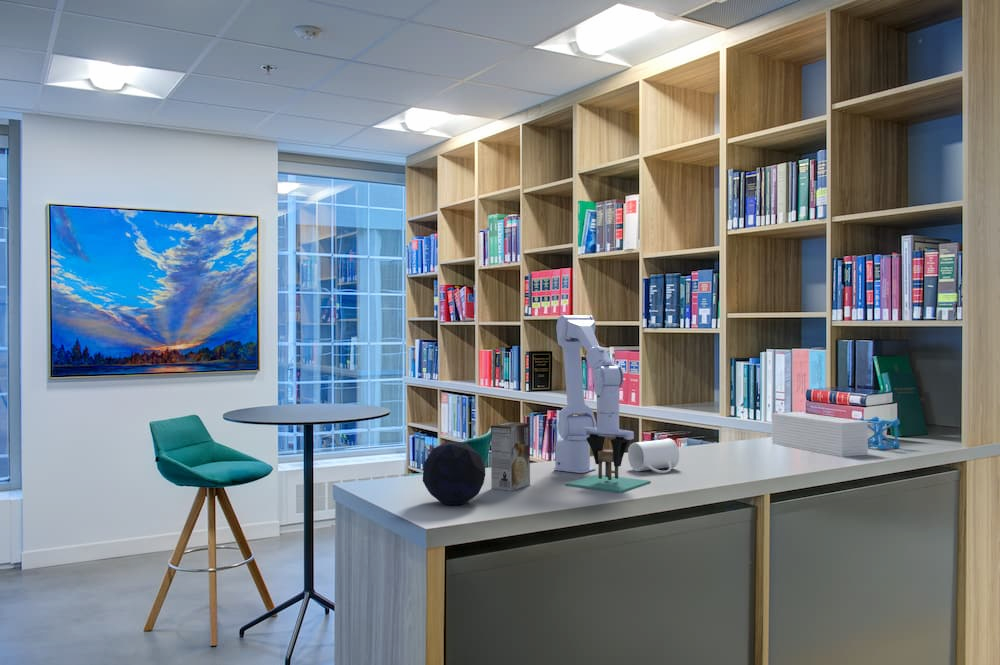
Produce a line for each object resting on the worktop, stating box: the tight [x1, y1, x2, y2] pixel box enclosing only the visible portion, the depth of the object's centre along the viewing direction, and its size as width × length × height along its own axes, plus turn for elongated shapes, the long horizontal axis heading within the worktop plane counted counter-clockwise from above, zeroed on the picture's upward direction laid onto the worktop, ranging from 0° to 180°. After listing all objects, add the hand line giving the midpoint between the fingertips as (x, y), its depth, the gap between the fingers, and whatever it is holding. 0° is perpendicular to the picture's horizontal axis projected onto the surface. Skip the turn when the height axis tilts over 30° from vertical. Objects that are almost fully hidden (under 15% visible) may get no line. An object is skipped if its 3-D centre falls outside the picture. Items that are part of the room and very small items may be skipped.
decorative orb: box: [422, 441, 486, 506], centre depth 182 cm, size 14×15×15 cm
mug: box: [627, 437, 680, 474], centre depth 224 cm, size 12×8×12 cm
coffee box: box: [490, 421, 531, 492], centre depth 201 cm, size 9×6×16 cm
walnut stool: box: [597, 449, 619, 480], centre depth 204 cm, size 5×5×7 cm
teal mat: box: [564, 473, 651, 494], centre depth 204 cm, size 16×16×1 cm
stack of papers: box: [771, 411, 869, 457], centre depth 264 cm, size 32×11×11 cm, turn 21°
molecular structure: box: [856, 415, 901, 451], centre depth 265 cm, size 10×10×10 cm
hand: (608, 465), depth 204 cm, fingers closed on walnut stool, 5 cm apart
